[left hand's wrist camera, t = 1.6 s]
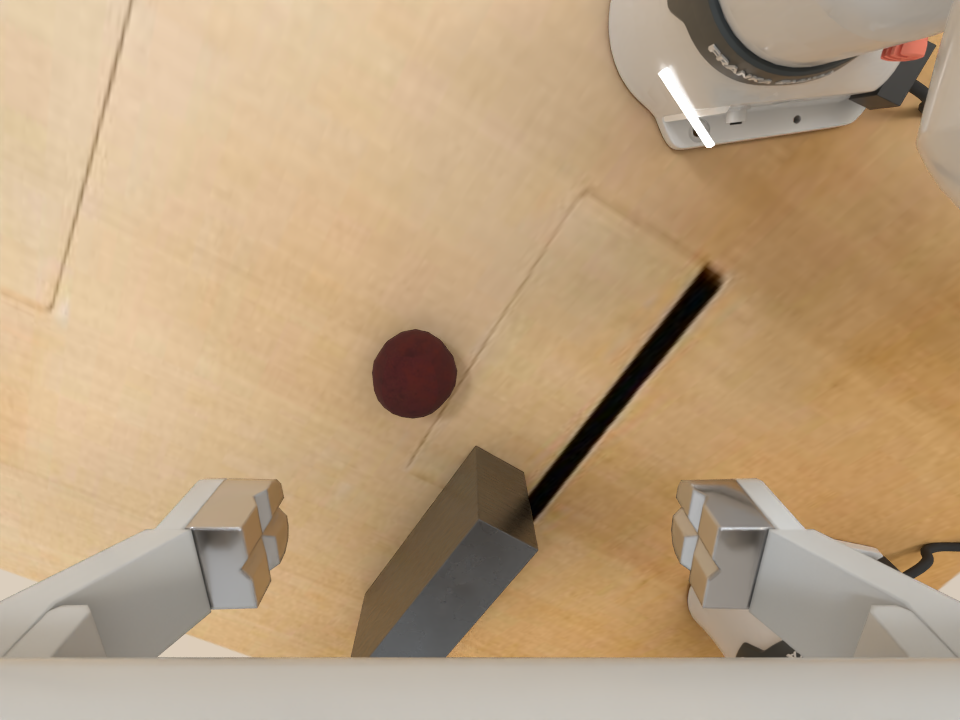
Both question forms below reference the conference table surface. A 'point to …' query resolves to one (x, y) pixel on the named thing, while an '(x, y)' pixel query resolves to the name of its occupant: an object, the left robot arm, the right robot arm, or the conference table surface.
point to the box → (450, 564)
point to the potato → (413, 374)
